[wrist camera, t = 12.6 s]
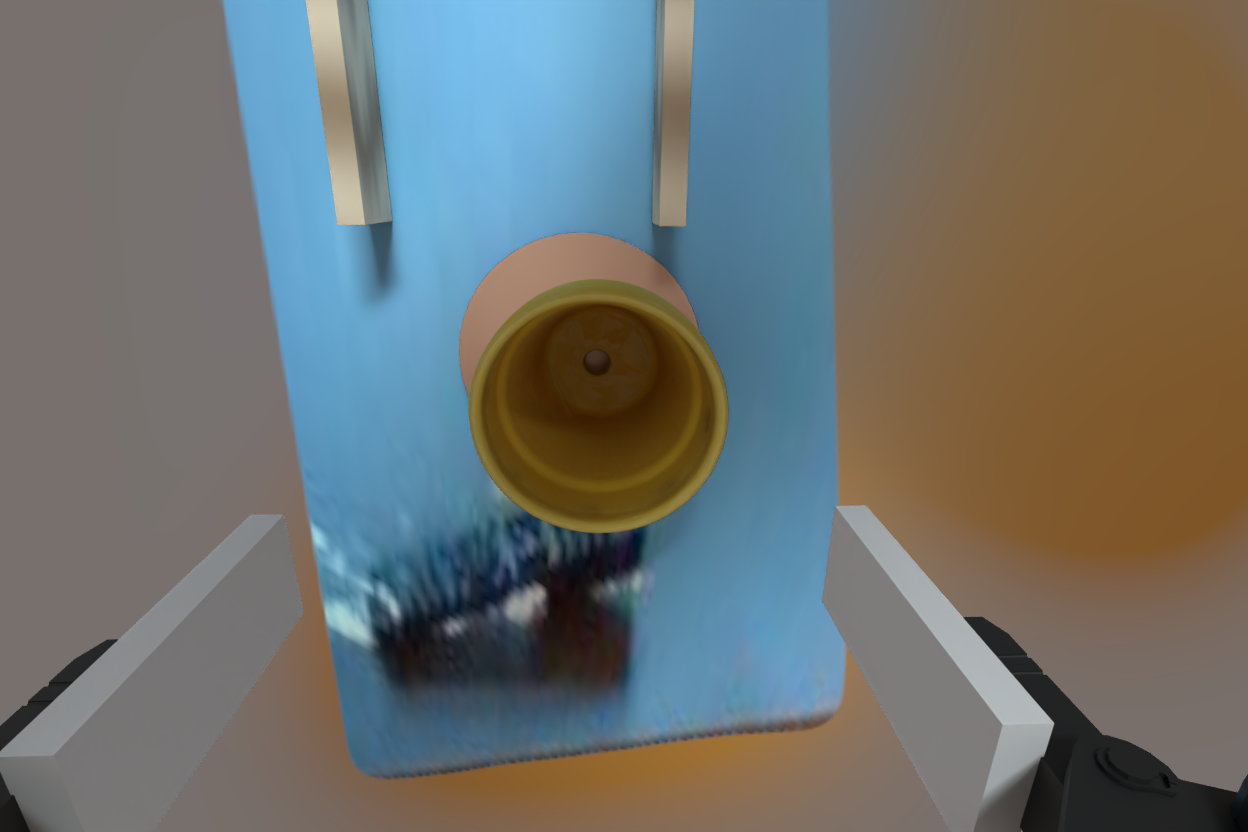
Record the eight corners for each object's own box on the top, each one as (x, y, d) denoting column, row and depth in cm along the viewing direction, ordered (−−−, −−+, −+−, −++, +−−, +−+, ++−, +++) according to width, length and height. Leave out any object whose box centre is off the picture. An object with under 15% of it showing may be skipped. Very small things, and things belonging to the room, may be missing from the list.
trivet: (501, 194, 31) (499, 194, 31) (736, 283, 33) (739, 285, 33) (435, 422, 35) (431, 427, 35) (648, 490, 37) (649, 496, 37)
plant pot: (500, 441, 35) (466, 530, 26) (504, 252, 32) (466, 277, 22) (682, 452, 36) (712, 543, 27) (706, 269, 32) (749, 299, 23)
